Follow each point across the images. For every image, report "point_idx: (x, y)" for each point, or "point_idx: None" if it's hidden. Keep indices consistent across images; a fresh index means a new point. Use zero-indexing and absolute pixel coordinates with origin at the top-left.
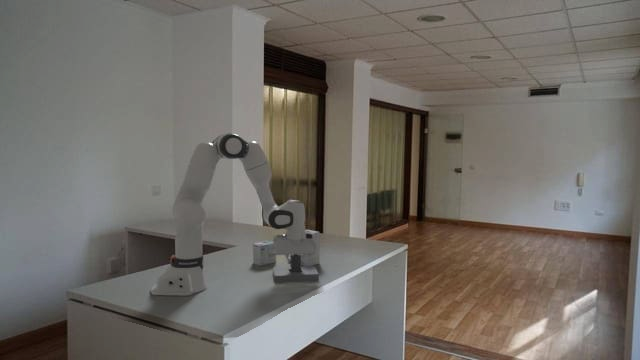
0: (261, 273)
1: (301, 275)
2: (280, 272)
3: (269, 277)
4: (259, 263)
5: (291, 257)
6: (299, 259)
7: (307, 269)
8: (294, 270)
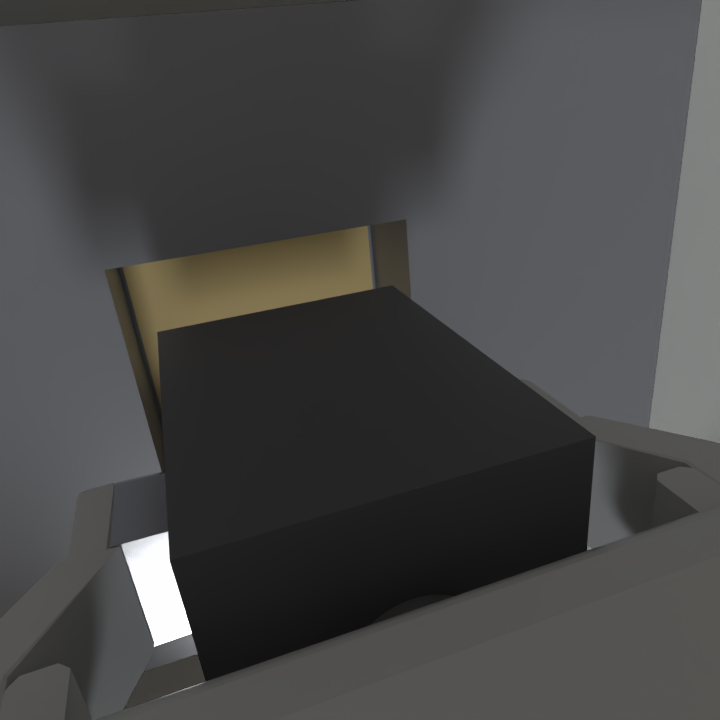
0: (700, 435)
1: (105, 18)
2: (576, 229)
3: None
4: None
5: (568, 418)
6: (222, 455)
7: (6, 482)
8: None
